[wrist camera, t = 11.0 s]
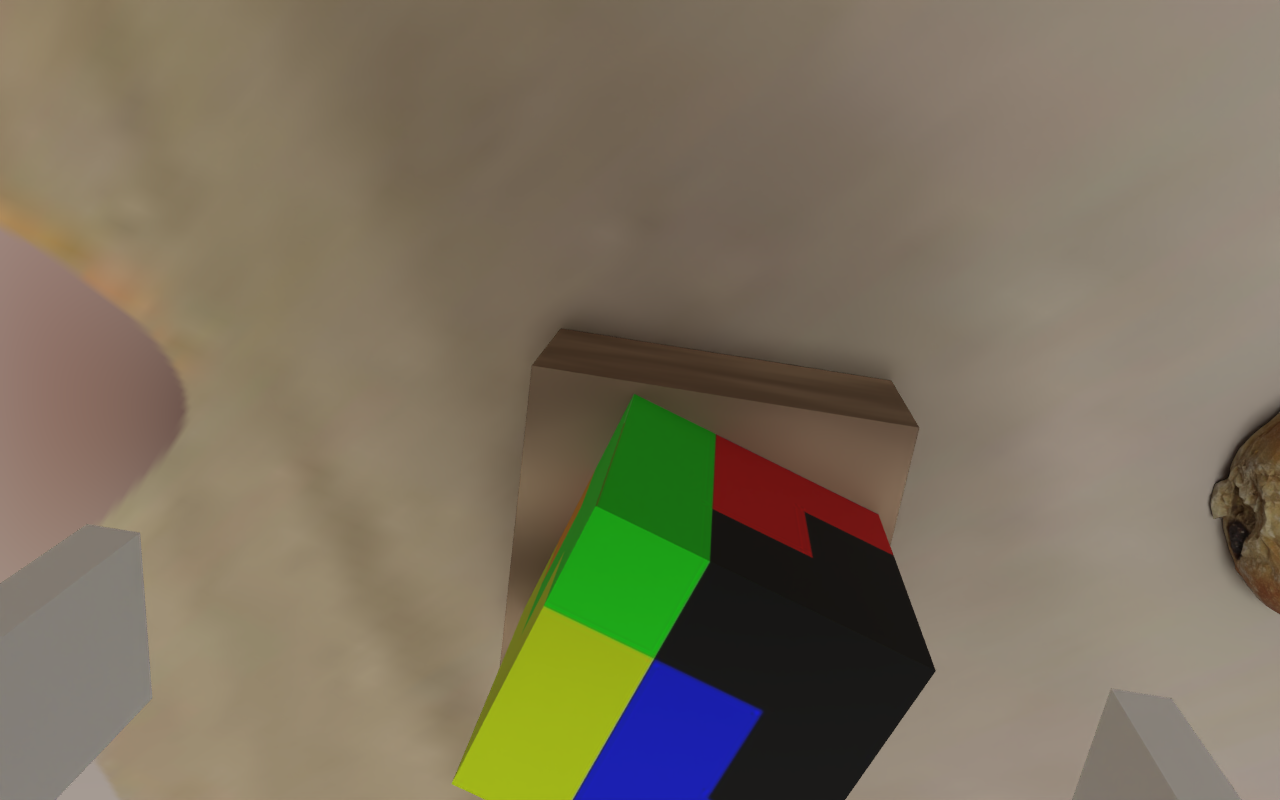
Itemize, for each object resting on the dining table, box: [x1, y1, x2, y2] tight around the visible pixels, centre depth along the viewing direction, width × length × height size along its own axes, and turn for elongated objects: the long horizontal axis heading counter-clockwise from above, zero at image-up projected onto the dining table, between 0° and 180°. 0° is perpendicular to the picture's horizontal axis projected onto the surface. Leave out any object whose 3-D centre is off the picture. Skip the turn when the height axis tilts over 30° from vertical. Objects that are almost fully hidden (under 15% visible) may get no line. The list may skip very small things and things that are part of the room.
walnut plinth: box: [500, 329, 919, 666], centre depth 38 cm, size 14×14×6 cm
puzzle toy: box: [452, 394, 936, 800], centre depth 31 cm, size 10×10×10 cm
